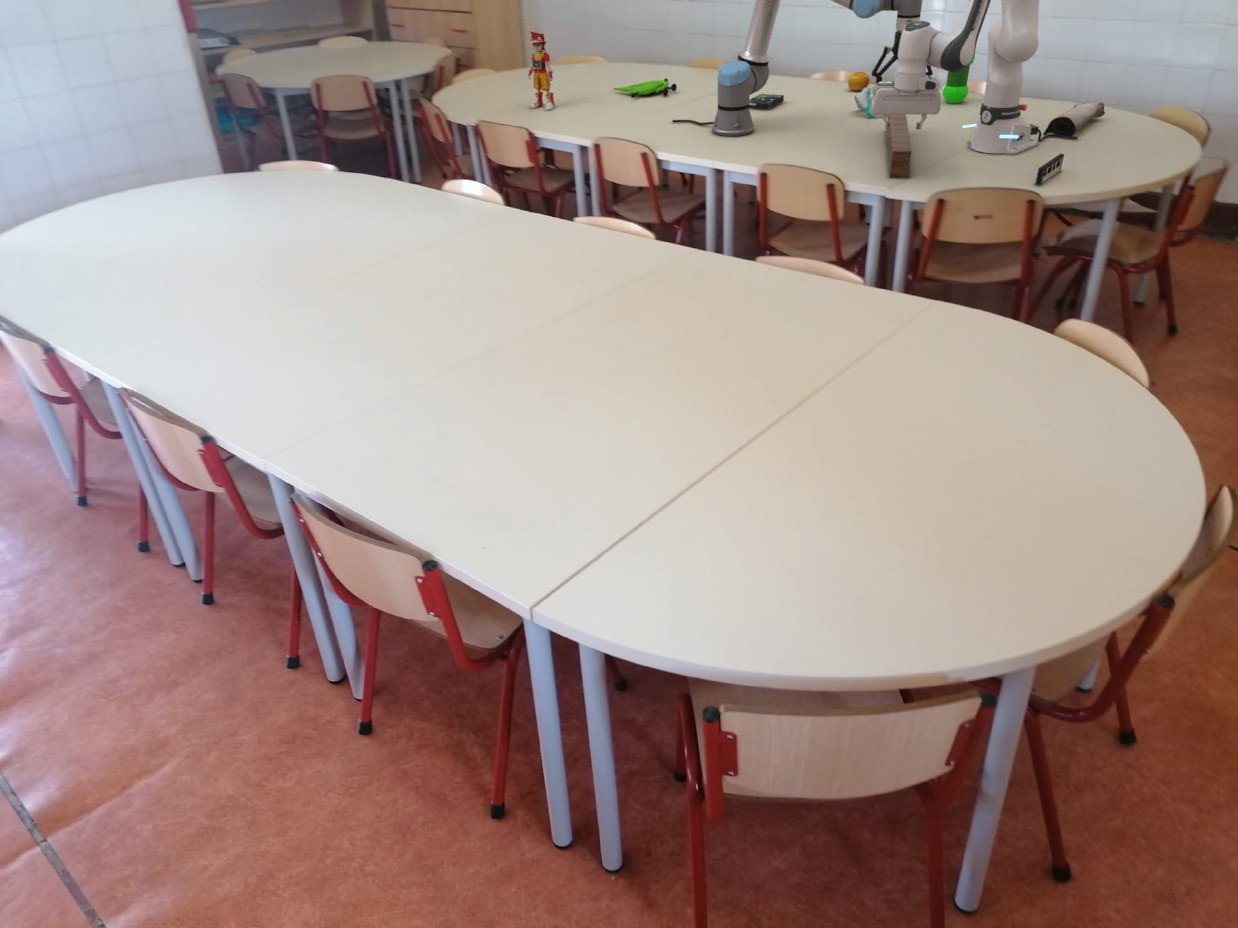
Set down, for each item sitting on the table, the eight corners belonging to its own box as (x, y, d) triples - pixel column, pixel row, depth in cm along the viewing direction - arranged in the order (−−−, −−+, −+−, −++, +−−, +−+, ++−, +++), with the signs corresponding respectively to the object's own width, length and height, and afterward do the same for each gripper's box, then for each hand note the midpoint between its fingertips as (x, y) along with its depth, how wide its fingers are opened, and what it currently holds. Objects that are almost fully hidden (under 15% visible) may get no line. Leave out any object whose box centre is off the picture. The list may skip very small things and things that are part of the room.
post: (886, 131, 326) (888, 108, 321) (902, 131, 325) (905, 108, 320) (889, 177, 283) (892, 151, 278) (908, 178, 282) (911, 151, 277)
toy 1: (525, 109, 381) (517, 32, 364) (534, 104, 388) (527, 28, 371) (550, 110, 377) (543, 32, 360) (559, 105, 384) (553, 28, 367)
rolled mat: (1071, 106, 328) (1096, 88, 320) (1085, 127, 329) (1110, 110, 321) (1039, 128, 311) (1065, 111, 303) (1053, 150, 312) (1080, 133, 303)
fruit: (843, 83, 375) (855, 65, 372) (845, 86, 383) (857, 69, 380) (859, 94, 374) (871, 76, 371) (861, 97, 382) (873, 80, 379)
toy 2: (686, 85, 398) (631, 84, 414) (685, 72, 395) (629, 72, 411) (651, 104, 381) (596, 103, 397) (650, 92, 378) (594, 91, 394)
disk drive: (769, 111, 359) (783, 102, 369) (769, 103, 357) (784, 94, 367) (745, 108, 363) (760, 100, 373) (745, 101, 362) (761, 92, 372)
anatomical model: (849, 87, 348) (874, 80, 347) (851, 114, 354) (876, 107, 353) (861, 96, 336) (887, 89, 335) (863, 124, 342) (889, 117, 341)
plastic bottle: (973, 101, 354) (984, 32, 339) (955, 106, 349) (966, 36, 335) (952, 97, 361) (962, 29, 346) (934, 102, 356) (944, 33, 342)
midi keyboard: (1039, 185, 269) (1043, 168, 266) (1035, 184, 270) (1038, 168, 267) (1060, 170, 279) (1064, 154, 277) (1056, 169, 280) (1060, 153, 277)
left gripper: (868, 33, 301) (862, 100, 313) (946, 32, 296) (937, 99, 308) (868, 29, 307) (862, 94, 319) (945, 28, 302) (935, 94, 314)
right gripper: (874, 84, 270) (868, 131, 278) (945, 84, 267) (937, 131, 275) (873, 79, 275) (867, 126, 283) (942, 79, 272) (935, 126, 280)
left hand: (898, 97), depth 313 cm, fingers open, 13 cm apart
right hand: (902, 129), depth 279 cm, fingers open, 8 cm apart
